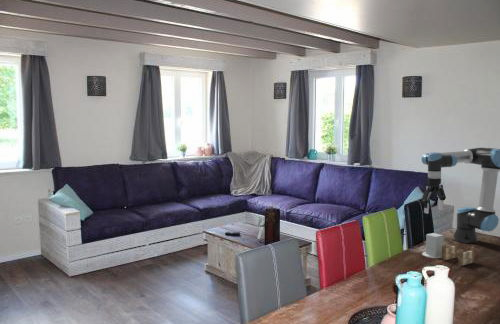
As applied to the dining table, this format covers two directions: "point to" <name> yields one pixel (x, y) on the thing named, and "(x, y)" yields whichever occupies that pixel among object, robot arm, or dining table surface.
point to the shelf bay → (463, 256)
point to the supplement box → (434, 244)
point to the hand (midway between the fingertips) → (433, 211)
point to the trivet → (430, 255)
